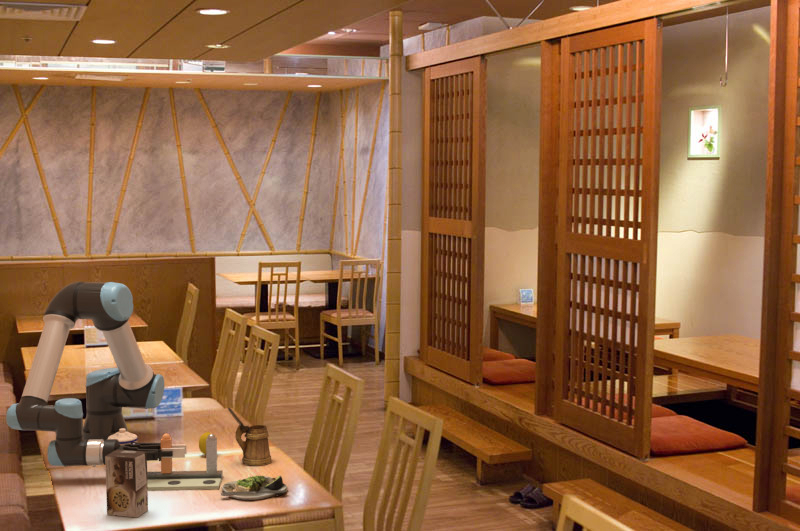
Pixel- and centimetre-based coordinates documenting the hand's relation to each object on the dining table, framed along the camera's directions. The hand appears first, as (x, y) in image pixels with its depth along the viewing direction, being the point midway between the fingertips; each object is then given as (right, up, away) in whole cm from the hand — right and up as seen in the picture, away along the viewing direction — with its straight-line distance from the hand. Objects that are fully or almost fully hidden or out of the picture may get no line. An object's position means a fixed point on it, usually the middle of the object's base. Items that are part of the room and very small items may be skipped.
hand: (185, 450), depth 282 cm
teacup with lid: (-23, -7, +15) cm, 28 cm away
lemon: (+2, -7, +25) cm, 26 cm away
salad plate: (+23, -10, -9) cm, 26 cm away
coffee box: (-9, -11, -28) cm, 31 cm away
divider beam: (-3, -9, +1) cm, 9 cm away
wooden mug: (+16, -7, +18) cm, 25 cm away
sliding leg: (-6, -6, 0) cm, 8 cm away
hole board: (-1, -9, -6) cm, 11 cm away
